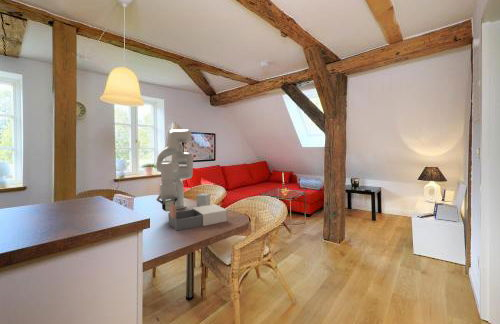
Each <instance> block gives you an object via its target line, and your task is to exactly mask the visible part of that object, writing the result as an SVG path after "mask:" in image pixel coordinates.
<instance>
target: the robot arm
mask: <svg viewBox="0 0 500 324" xmlns="http://www.w3.org/2000/svg"><path fill="white" fill-rule="evenodd" d="M191 139H192V131H191V130H190V129H170V130H168V133H167V141H166V145H165V146H166V147H165V148H164V149H163V150H161V152H160V153H159V154H158V156H157V157H156V158H157V159H156V165H155V169H156V171H157V172H159V173H160V174H161V175H160V176H161V181H160V182H161V183H160V184H159V190H158V192H159V194H158V196H157V198H156V201H157V202H159V203H160V204H161V208H162V210H163V211H165V200H173V202H174V205H175V206H176V210H181V209H185V208H186V207H187V204H185V203H184V202H185V200H184V199H185V198H184V197H185V196H184V182H183V181H182V180H183V179H186V180H187V179H192V177H193V174H194V171H193V170H194V156H193V154H192V153H191V152H184V145H183V144H182V143H189V141H191ZM170 156H171V160H165V159H166V158H167V157H170ZM165 212H166V211H165Z"/></svg>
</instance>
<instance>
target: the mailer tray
mask: <svg viewBox="0 0 500 324" xmlns="http://www.w3.org/2000/svg"><path fill="white" fill-rule="evenodd" d="M169 206H170V211H169V213H168V224H169V225H170V226H171V227H172V228H173V229H174V230H176V231H180V230H187V229H191V228H196V227H197V228H198V227H200V226H203V215H202V214H200V213H199V212H197V211H195V210H194V209H188V210H181V211H177V209H176V206H175V205H174V204H169Z"/></svg>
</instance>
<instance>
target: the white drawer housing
mask: <svg viewBox="0 0 500 324" xmlns="http://www.w3.org/2000/svg"><path fill="white" fill-rule="evenodd" d="M191 208H192V209H194V210H195V211H197V212H199V213H200V214H202V215H203V225H202V226H203V227H205V226H209V225H214V224H216V225H217V224H219V223H224V222H225V223H226V222H228V210H227V209H226V208H224V207H221V206H219V205H217V204H215V203H214V204H213V203H212V204H210V205H206V206H200V207H197V206H193V207H191ZM192 209H191V210H192Z"/></svg>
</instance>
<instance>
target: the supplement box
mask: <svg viewBox="0 0 500 324" xmlns="http://www.w3.org/2000/svg"><path fill="white" fill-rule="evenodd" d="M206 205H211V194H210V193H204V192H203V193H202V192H201V193H199V194H196V207H200V206H206Z"/></svg>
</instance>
